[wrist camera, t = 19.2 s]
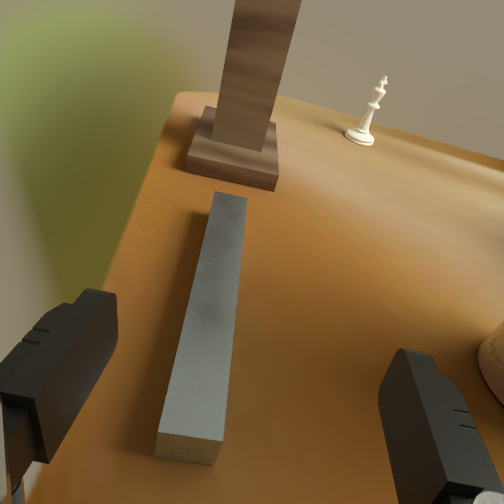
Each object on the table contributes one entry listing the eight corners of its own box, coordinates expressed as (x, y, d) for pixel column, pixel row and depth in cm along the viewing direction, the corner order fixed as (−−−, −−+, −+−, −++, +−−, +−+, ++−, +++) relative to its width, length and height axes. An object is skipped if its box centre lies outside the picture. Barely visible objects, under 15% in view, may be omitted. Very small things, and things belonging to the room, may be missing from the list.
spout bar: (212, 468, 19) (222, 441, 17) (153, 459, 19) (157, 431, 17) (240, 224, 37) (247, 198, 35) (209, 218, 36) (214, 191, 34)
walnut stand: (274, 200, 41) (425, -280, 21) (181, 180, 40) (251, -350, 20) (271, 131, 56) (357, -183, 37) (205, 115, 55) (257, -219, 36)
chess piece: (378, 144, 63) (407, 82, 57) (360, 146, 60) (388, 81, 54) (356, 131, 66) (382, 71, 60) (338, 133, 63) (363, 69, 57)
